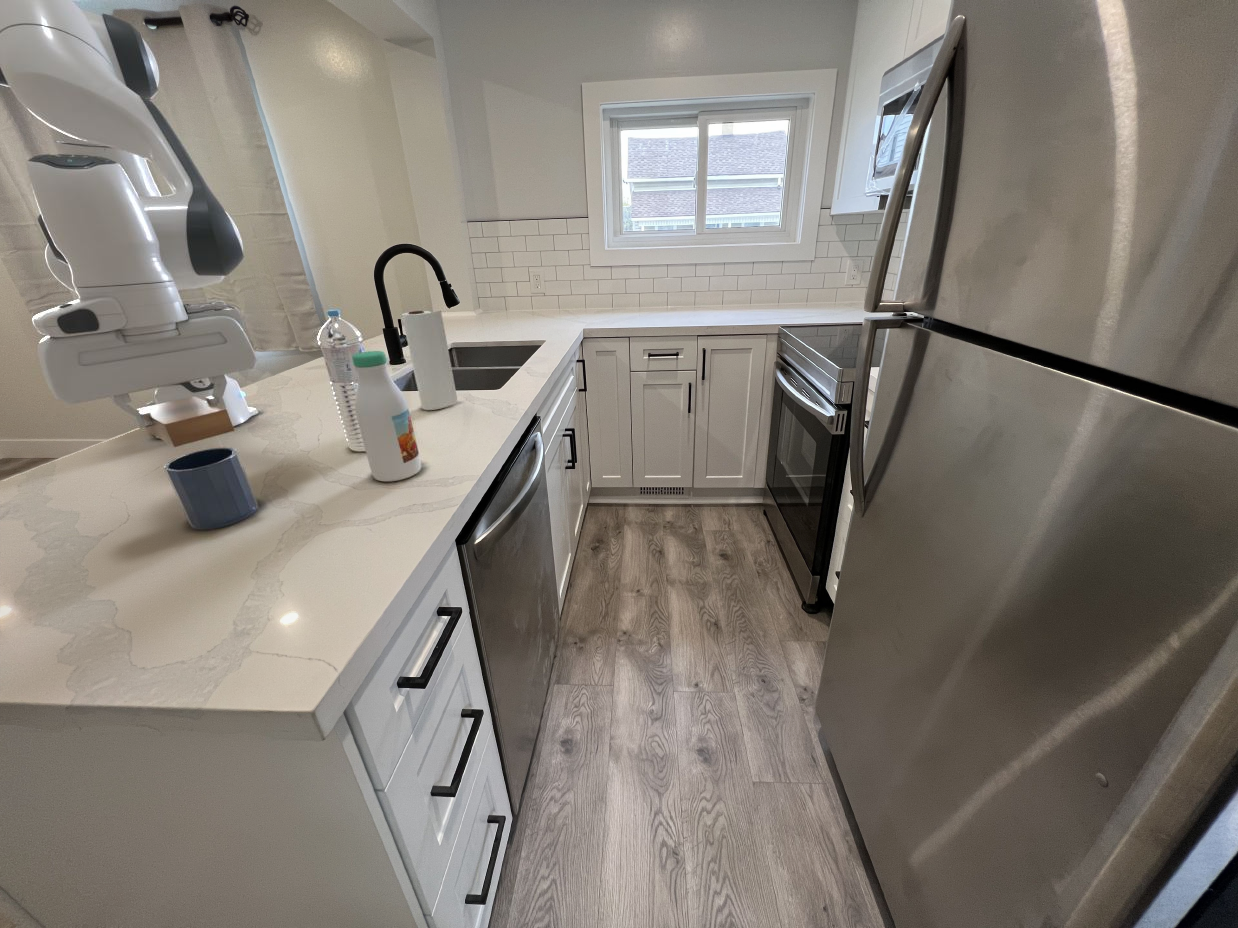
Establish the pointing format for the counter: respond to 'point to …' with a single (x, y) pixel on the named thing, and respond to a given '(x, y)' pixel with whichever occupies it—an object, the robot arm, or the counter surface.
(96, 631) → the counter surface
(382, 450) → the milk bottle
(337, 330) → the water bottle
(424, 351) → the paper towel roll
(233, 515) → the cup
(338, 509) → the counter surface
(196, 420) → the wooden block
